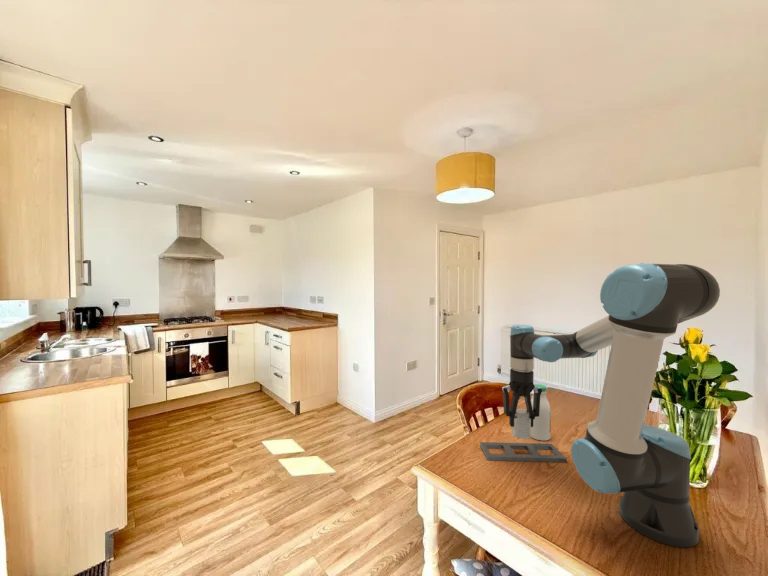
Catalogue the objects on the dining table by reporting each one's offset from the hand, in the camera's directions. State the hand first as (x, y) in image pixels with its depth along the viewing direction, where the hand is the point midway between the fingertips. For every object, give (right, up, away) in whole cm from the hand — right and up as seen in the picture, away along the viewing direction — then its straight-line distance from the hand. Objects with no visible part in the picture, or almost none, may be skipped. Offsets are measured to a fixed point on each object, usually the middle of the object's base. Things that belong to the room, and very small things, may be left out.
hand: (521, 435), depth 113 cm
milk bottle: (+13, -6, +13) cm, 19 cm away
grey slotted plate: (0, -6, 0) cm, 6 cm away
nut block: (0, 0, 0) cm, 1 cm away
